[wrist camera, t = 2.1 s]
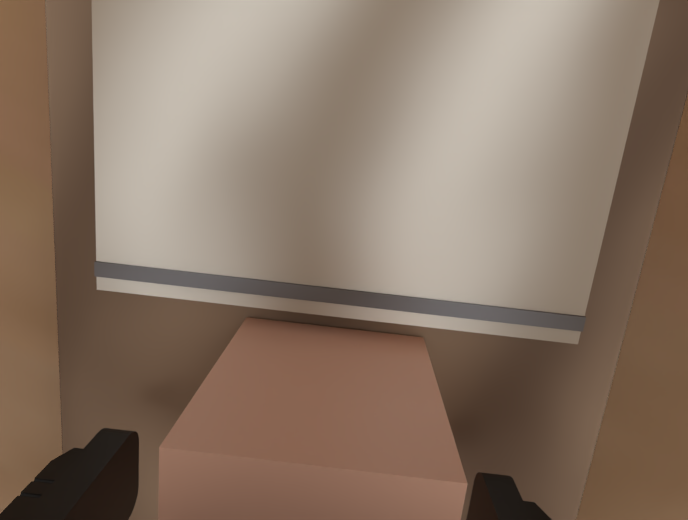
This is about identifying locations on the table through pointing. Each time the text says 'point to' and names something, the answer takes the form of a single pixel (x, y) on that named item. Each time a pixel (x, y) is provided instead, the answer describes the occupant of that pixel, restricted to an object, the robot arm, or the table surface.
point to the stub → (313, 431)
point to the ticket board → (361, 203)
